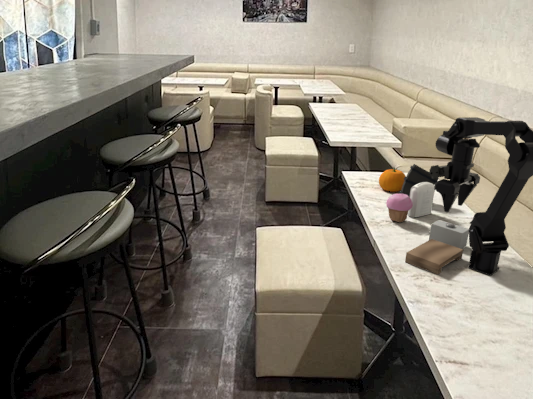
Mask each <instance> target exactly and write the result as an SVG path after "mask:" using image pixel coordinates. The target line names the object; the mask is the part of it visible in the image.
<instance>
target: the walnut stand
mask: <svg viewBox="0 0 533 399" xmlns="http://www.w3.org/2000/svg"><path fill="white" fill-rule="evenodd" d="M463 254H464V248H463V249H460V248H457V247H454V246H451V245H448V244H445V243H442V242H439V241H436V240H433V239H430V240H429V239H428V240H426V241H425V242H424V243H421V244H419V245H418V246H416V247H415V248H412V249H411V250H408V251H407V252H406V253H405V263H407V264H409V265H412V266H415V267H417V268H420V269H422V270H425V271H427V272H430V273H432V274H436V275H439V274H441V273H442V270H443V267H445V266H447V265H448V264H450V263H452V262H453V261H454V260H455V261H458V262H459V261H461V260H462V258H463Z"/></svg>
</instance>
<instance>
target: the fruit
mask: <svg viewBox="0 0 533 399" xmlns="http://www.w3.org/2000/svg"><path fill="white" fill-rule="evenodd" d="M406 176H407V175H405V173H404V172H403V171H402V170H399V169H396V168H395V166H393V169H392V168H390V169H385V170H384V171H382V173H381V174H380V175H379V176H378V177H379V178H378V184H379V187H380V188H381V189H382V190H384V191H386V192H389V191H390V193H398V192H399V193H400V190H402V186H403V183H404V181H405V180H404V177H406Z"/></svg>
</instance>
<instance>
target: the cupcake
mask: <svg viewBox="0 0 533 399" xmlns="http://www.w3.org/2000/svg"><path fill="white" fill-rule="evenodd" d="M385 203H386V208H387V210H388V216H389V219H390V220H391V221H392V222H393V221H394V222H397V223H403V222H405V221H406V220H407V218H408V210H410V209H411V208H412V206H413V202H412V200H411V198H409V196H408V195H406V194H400V193H393V194H392V195H389V196H388V198H387V199H386V202H385Z"/></svg>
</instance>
